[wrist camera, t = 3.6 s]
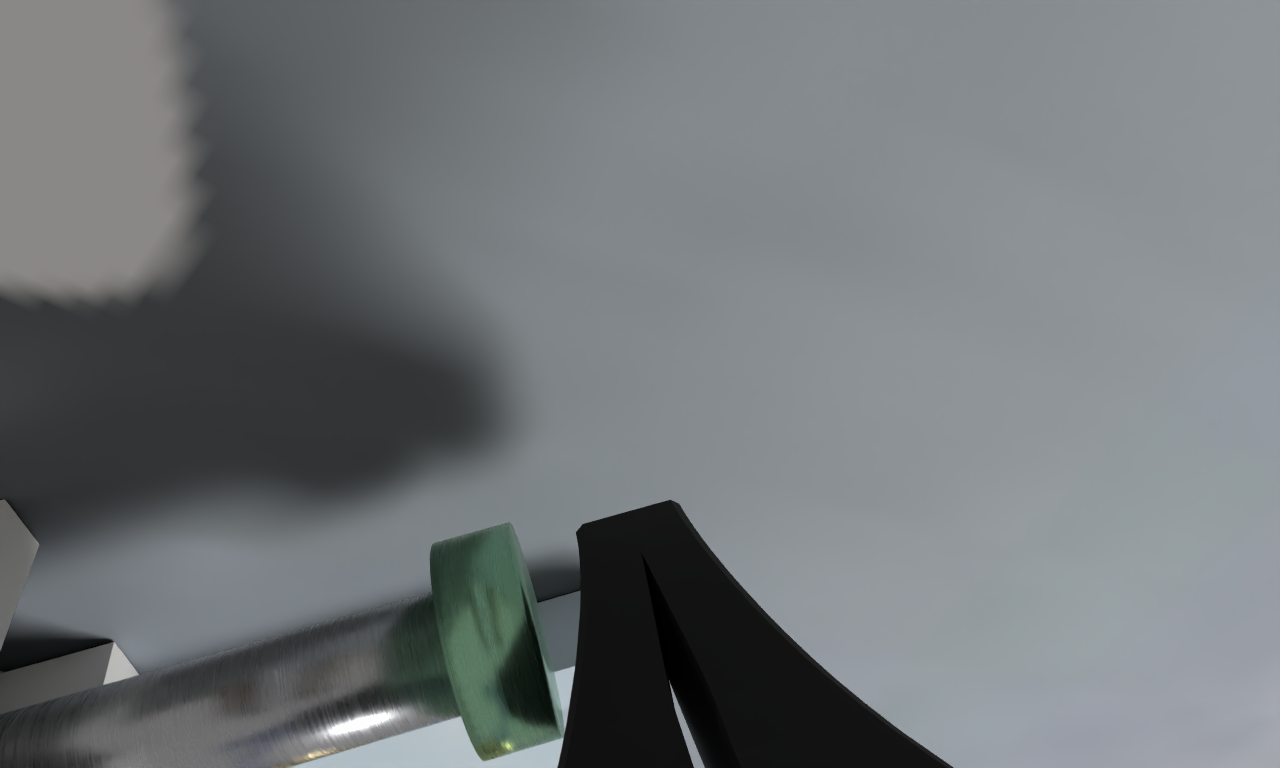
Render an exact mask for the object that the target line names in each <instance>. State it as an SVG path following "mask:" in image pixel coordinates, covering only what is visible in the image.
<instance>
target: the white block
mask: <svg viewBox="0 0 1280 768" xmlns="http://www.w3.org/2000/svg"><path fill="white" fill-rule="evenodd" d="M38 548H39V543H38V542H37V541H36V539H35V538H34V537H33V535H32V534H31V533H30V531H29V530H28V529H27V528H26V526H25V525H24V524H23V522H22V521H21V520H20V518H19V517H18V516H17V514H16V513H15V512H14V511H13V509H12V508H11V507H10V505H9V504H8V503H7V501H6V500H5V499H4V500H0V651H1V648H2V645H3V643H4V640H5V637H6V634H7V632H8V629H9V626H10V624H11V621H12V618H13V615H14V613H15V610H16V607H17V605H18V602H19V599H20V596H21V594H22V591H23V588H24V586H25V583H26V580H27V578H28V575H29V572H30V569H31V567H32V564H33V561H34V559H35V556H36V553H37V550H38ZM137 675H139V674H138V672H137V671H136V670H135V669H134V667H133V666H132V665H131V663H130V662H129V661H128V659H127V658H126V657H125V656H124V654H123V653H122V652H121V650H120V649H119V648H118V646H117V645H116V644H115V642H112V643H109V644H105V645H101V646H98V647H94V648H91V649H87V650H83V651H80V652H76V653H73V654H69V655H66V656H62V657H58V658H55V659H51V660H48V661H44V662H40V663H37V664H33V665H30V666H26V667H22V668H19V669H15V670H12V671H8V672H5V673H1V674H0V714H2V713H6V712H9V711H13V710H17V709H20V708H24V707H27V706H31V705H34V704H38V703H41V702H45V701H48V700H52V699H55V698H59V697H63V696H66V695H70V694H73V693H77V692H80V691H84V690H87V689H91V688H94V687H98V686H101V685H105V684H108V683H112V682H116V681H119V680H123V679H126V678H130V677H133V676H137Z"/></svg>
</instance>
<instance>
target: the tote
mask: <svg viewBox="0 0 1280 768" xmlns="http://www.w3.org/2000/svg"><path fill="white" fill-rule="evenodd" d="M537 604H538V607H539V611H540V615H541V619H542V623H543V627H544V631H545V635H546V639H547V643H548V647H549V651H550V655H551V660H552V664H553V669H554V673H555V678H556V682H557V687H558V692H559V697H560V703H561V708H562V714H563V721H564V730H565V728H566V723H567V717H568V710H569V704H570V697H571V691H572V684H573V677H574V671H575V663H576V653H577V641H578V629H579V617H580V591H577V592H574V593H570V594H567V595H563V596H560V597H556V598H553V599H550V600H546V601H543V602H539V603H537ZM563 739H564V738H561V739H558V740H555V741H551V742H548V743H545V744H541V745H538V746H535V747H531V748H528V749H525V750H521V751H518V752H515V753H512V754H508V755H505V756H502V757H498V758H495V759H492V760H488V761H483V760H481V759H480V757H479V756H478V755H477V753H476V751H475V749H474V747H473V745H472V743H471V741H470V739H469V736H468V734H467V731H466V729H465V726H464V723H463V721H462V718H461V717H458V718H454V719H451V720H448V721H444V722H441V723H438V724H434V725H431V726H427V727H424V728H421V729H417V730H414V731H411V732H407V733H404V734H400V735H397V736H394V737H390V738H387V739H384V740H380V741H377V742H373V743H370V744H367V745H363V746H360V747H357V748H353V749H350V750H346V751H343V752H340V753H336V754H333V755H330V756H326V757H323V758H319V759H316V760H313V761H309V762H306V763H302V764H299V765H296V766H292V767H289V768H557V767H558V763H559V758H560V753H561V749H562V744H563Z"/></svg>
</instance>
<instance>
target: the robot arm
mask: <svg viewBox="0 0 1280 768" xmlns="http://www.w3.org/2000/svg"><path fill="white" fill-rule="evenodd" d="M576 536H577V541H578V546H579V556H580V573H581V591H580V617H579V629H578V641H577V653H576V663H575V671H574V677H573V684H572V691H571V697H570V704H569V710H568V717H567V723H566V728H565V733H564V739H563V744H562V749H561V753H560V758H559V763H558V767H557V768H694V767H693V764H692V761H691V757H690V754H689V751H688V748H687V745H686V742H685V739H684V736H683V733H682V730H681V727H680V724H679V721H678V718H677V715H676V712H675V708H674V703H673V698H672V693H671V688H670V684H671V686H672V689H673V691H674V693H675V696H676V698H677V701H678V703H679V706H680V708H681V711H682V713H683V715H684V718H685V720H686V723H687V725H688V728H689V730H690V732H691V735H692V737H693V740H694V742H695V745H696V747H697V749H698V752H699V754H700V757H701V759H702V762H703V764H704V766H705V768H953V767H952V766H950V765H949V764H948V763H946V762H945V761H943V760H942V759H940V758H939V757H937V756H936V755H935V754H933V753H932V752H930V751H929V750H927V749H926V748H925V747H923V746H922V745H920V744H919V743H917V742H916V741H914V740H913V739H912V738H910V737H909V736H907V735H906V734H904V733H903V732H902V731H900V730H899V729H898V728H896V727H895V726H894V725H892V724H891V723H890V722H889V721H887V720H886V719H885V718H883V717H882V716H881V715H880V714H878V713H877V712H876V711H874V710H873V709H872V708H870V707H869V706H868V705H867V704H865V703H864V702H863V701H862V700H860V699H859V698H858V697H857V696H856V695H854V694H853V693H852V692H851V691H850V690H848V689H847V688H846V687H845V686H844V685H842V684H841V683H840V682H839V681H838V680H836V679H835V678H834V677H833V676H832V675H831V674H830V673H828V672H827V671H826V670H825V669H824V668H823V667H822V666H821V665H820V664H818V663H817V662H816V661H815V660H814V659H813V658H812V657H811V656H810V655H809V654H807V653H806V652H805V651H804V650H803V649H802V648H801V647H800V646H799V645H798V644H797V643H796V642H795V641H794V640H793V639H792V638H791V637H790V636H789V635H788V634H787V633H786V632H784V631H783V629H782V628H781V627H780V626H779V625H778V624H777V623H776V622H775V621H774V620H773V619H772V618H771V617H770V616H769V615H768V614H767V613H766V612H765V611H764V610H763V609H762V608H761V607H760V606H759V605H758V603H757V602H756V601H755V600H754V599H753V598H752V597H751V596H750V595H749V594H748V593H747V592H746V590H745V589H744V588H743V587H742V586H741V585H740V584H739V583H738V582H737V581H736V579H735V578H734V577H733V576H732V575H731V574H730V572H729V571H728V570H727V569H726V568H725V567H724V565H723V564H722V563H721V562H720V560H719V559H718V558H717V557H716V555H715V554H714V553H713V552H712V551H711V549H710V548H709V547H708V545H707V544H706V543H705V541H704V540H703V539H702V538H701V536H700V535H699V533H698V532H697V531H696V529H695V528H694V526H693V525H692V523H691V522H690V520H689V519H688V517H687V516H686V514H685V513H684V511H683V510H682V508H681V506H680V504H678V503H676V502H674V501H672V500H668V501H664V502H661V503H657V504H653V505H650V506H646V507H643V508H639V509H635V510H632V511H628V512H625V513H621V514H617V515H614V516H610V517H607V518H603V519H600V520H596V521H592V522H589V523H585V524H582V526H581V527H580V528H579V529H578V531H577V532H576ZM669 681H670V683H669Z"/></svg>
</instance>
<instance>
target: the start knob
mask: <svg viewBox="0 0 1280 768" xmlns="http://www.w3.org/2000/svg"><path fill="white" fill-rule="evenodd" d="M430 574H431V585H432V592H430V593H427V594H423V595H420V596H416V597H413V598H409V599H406V600H402V601H398V602H395V603H391V604H388V605H384V606H381V607H377V608H374V609H370V610H367V611H363V612H360V613H356V614H352V615H349V616H345V617H342V618H338V619H335V620H331V621H328V622H324V623H321V624H317V625H314V626H310V627H307V628H303V629H299V630H296V631H292V632H289V633H285V634H282V635H278V636H275V637H271V638H268V639H264V640H261V641H257V642H253V643H250V644H246V645H243V646H239V647H236V648H232V649H229V650H225V651H222V652H218V653H215V654H211V655H208V656H204V657H200V658H197V659H193V660H190V661H186V662H183V663H179V664H176V665H172V666H169V667H165V668H162V669H158V670H154V671H151V672H147V673H144V674H140V675H137V676H133V677H130V678H126V679H123V680H119V681H116V682H112V683H108V684H105V685H101V686H98V687H94V688H91V689H87V690H84V691H80V692H77V693H73V694H70V695H66V696H63V697H59V698H55V699H52V700H48V701H45V702H41V703H38V704H34V705H31V706H27V707H24V708H20V709H17V710H13V711H9V712H6V713H2V714H0V768H289V767H292V766H296V765H299V764H302V763H306V762H309V761H313V760H316V759H319V758H323V757H326V756H330V755H333V754H336V753H340V752H343V751H346V750H350V749H353V748H357V747H360V746H363V745H367V744H370V743H373V742H377V741H380V740H384V739H387V738H390V737H394V736H397V735H400V734H404V733H407V732H411V731H414V730H417V729H421V728H424V727H427V726H431V725H434V724H438V723H441V722H444V721H448V720H451V719H454V718H458V717H461V718H462V721H463V723H464V726H465V729H466V731H467V734H468V736H469V739H470V741H471V743H472V745H473V747H474V749H475V751H476V753H477V755H478V756H479V757H480V759H481V760H483V761H488V760H492V759H495V758H498V757H502V756H505V755H508V754H512V753H515V752H518V751H521V750H525V749H528V748H531V747H535V746H538V745H541V744H545V743H548V742H551V741H555V740H558V739H561V738H564V733H565V730H564V721H563V714H562V708H561V703H560V697H559V692H558V687H557V682H556V678H555V673H554V669H553V664H552V660H551V655H550V651H549V647H548V643H547V639H546V635H545V631H544V627H543V623H542V619H541V615H540V611H539V607H538V604H537V600H536V596H535V593H534V589H533V586H532V582H531V579H530V575H529V572H528V568H527V565H526V562H525V559H524V555H523V552H522V549H521V546H520V543H519V541H518V538H517V535H516V533H515V530H514V528H513V526H512V524H511V523H510V522H508V523H505V524H501V525H497V526H494V527H490V528H487V529H483V530H479V531H476V532H472V533H469V534H465V535H461V536H458V537H454V538H451V539H447V540H443V541H440V542H436V543H434V544H433V545H432V547H431V551H430Z"/></svg>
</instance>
